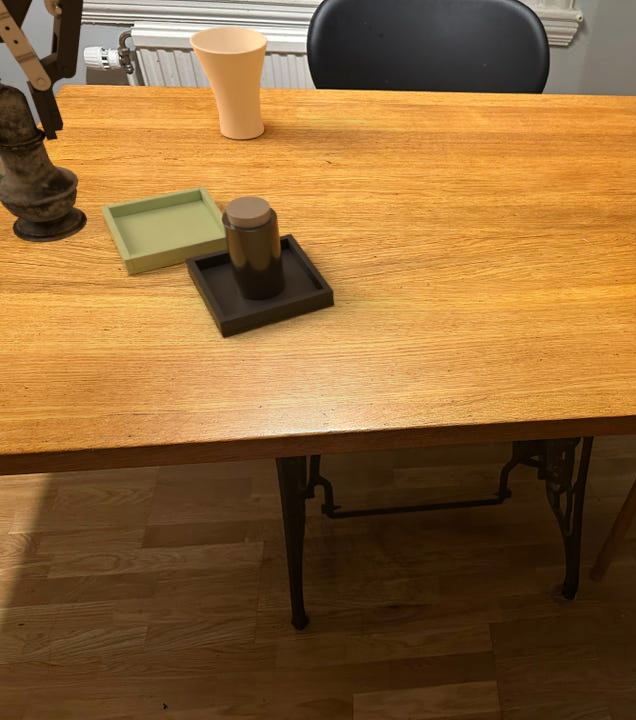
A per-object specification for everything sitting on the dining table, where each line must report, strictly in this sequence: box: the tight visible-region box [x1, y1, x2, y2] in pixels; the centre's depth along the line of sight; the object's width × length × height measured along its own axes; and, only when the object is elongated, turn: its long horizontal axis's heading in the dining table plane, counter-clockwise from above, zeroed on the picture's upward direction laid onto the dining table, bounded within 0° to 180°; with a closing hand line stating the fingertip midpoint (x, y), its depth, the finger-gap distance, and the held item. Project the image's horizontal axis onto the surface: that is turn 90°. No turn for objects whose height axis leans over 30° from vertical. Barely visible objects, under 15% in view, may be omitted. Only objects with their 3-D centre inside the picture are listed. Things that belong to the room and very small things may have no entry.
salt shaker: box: [0, 77, 88, 244], centre depth 52 cm, size 6×6×12 cm
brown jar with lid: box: [222, 195, 285, 300], centre depth 76 cm, size 6×6×10 cm
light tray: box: [100, 185, 227, 276], centre depth 85 cm, size 13×13×2 cm
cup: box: [189, 26, 269, 140], centre depth 103 cm, size 10×10×14 cm
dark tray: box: [185, 233, 335, 338], centre depth 79 cm, size 13×13×2 cm
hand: (18, 139), depth 51 cm, fingers closed on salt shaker, 3 cm apart
